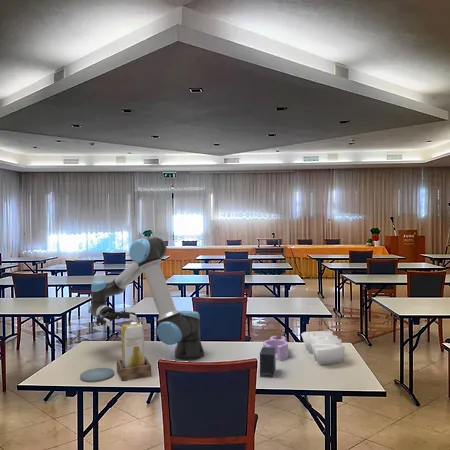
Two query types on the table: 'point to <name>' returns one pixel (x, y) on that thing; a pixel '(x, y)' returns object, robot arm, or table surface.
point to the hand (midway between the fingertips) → (123, 321)
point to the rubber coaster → (97, 374)
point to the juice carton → (132, 345)
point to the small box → (267, 362)
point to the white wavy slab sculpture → (324, 347)
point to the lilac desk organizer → (278, 346)
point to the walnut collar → (133, 371)
